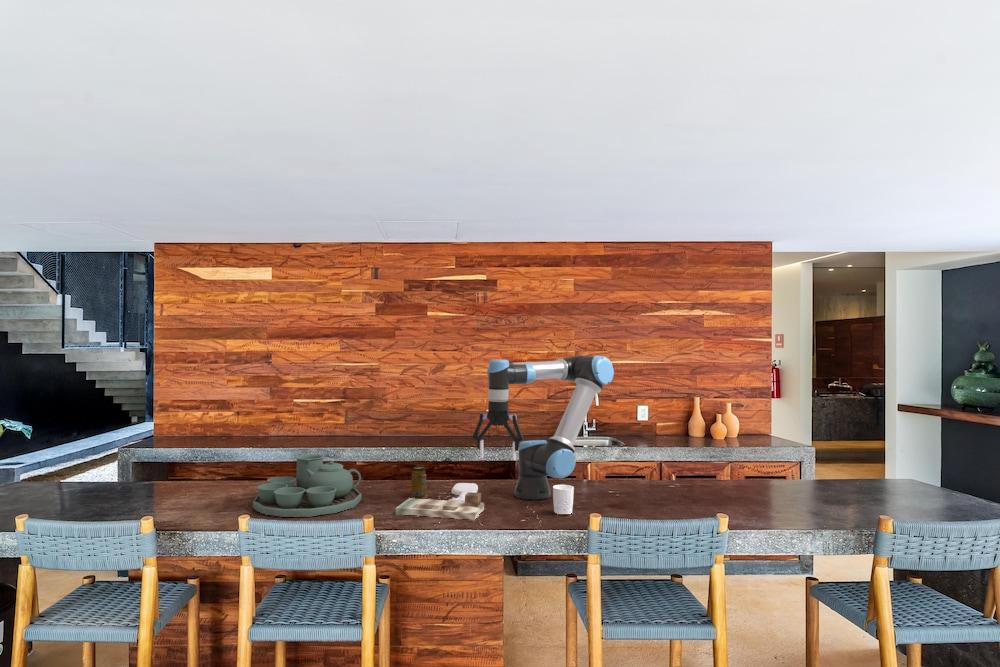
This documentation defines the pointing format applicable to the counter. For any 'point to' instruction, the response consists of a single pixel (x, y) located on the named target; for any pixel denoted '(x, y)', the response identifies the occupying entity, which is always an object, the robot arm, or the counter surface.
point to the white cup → (563, 499)
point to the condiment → (418, 482)
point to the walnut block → (472, 499)
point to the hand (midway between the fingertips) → (497, 458)
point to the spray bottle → (463, 490)
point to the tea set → (309, 490)
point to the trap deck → (439, 509)
